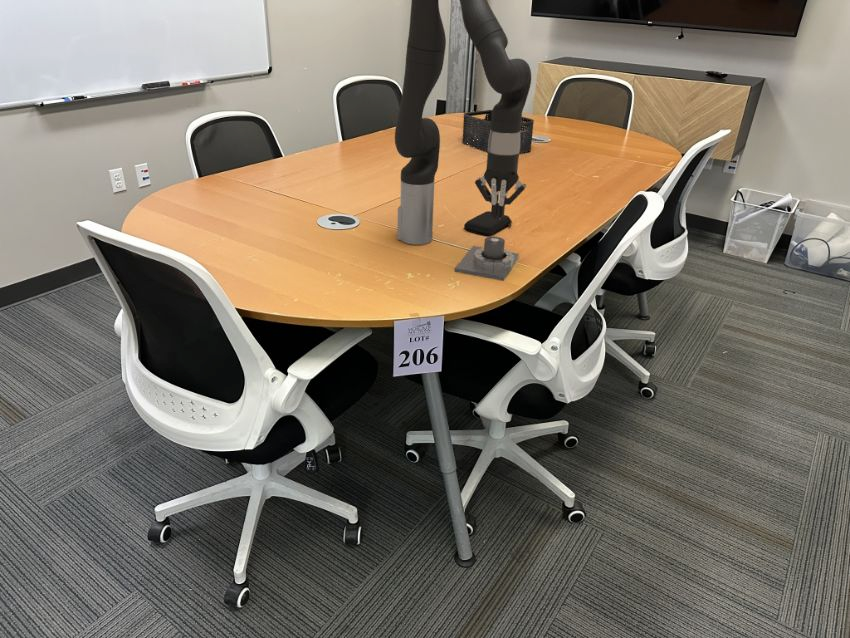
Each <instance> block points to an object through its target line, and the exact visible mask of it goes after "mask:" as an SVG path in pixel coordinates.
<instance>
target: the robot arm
mask: <svg viewBox="0 0 850 638" xmlns="http://www.w3.org/2000/svg"><path fill="white" fill-rule="evenodd" d="M459 3H460V9H461V16H462V21H463V25H464V28H465V30H466V33H467V35H468V36H469V39H470V40H471V42H472V44H473V45H474V48H475V49H476V51H477V52H478V54H479V56H480V60H481V64H482V67H483V71H484V75H485V77H486V80H487V82H488V84H489V85H490V87H491V88H492V89H493V90H494V91H495V92H496V93H498V94H501V95H500V100H499V101H498V102H497V103H496V104H495V105H494V106H493V108H492V109H491V110H492V119H491V130H490V135H489V142H488V152H487V157H486V167H485V168H486V169H485V172H484V173H483V176H481V177H477V179H475V181H474V184H475V186H476V187H477V189H478V191H479V193H480V194H481V196H482V198H483V199H484V201H485V202H489V203H490V204H491V210H490V211H491V216H493V219H498V220H500V219H501V218H502V217H503V216H504V215H505V209H506V205H508V206H509V205H511V204H512V203H513V201H515V200H516V199H517V198H518V197H519V196H520V195H521V194H522V192H523V191H525V189H526V188H527V184H525V183H523V182H521V181H520V180H519V179H520V177H519V174H518V169H519V168H518V167H519V157H520V154H519V151H520V131H521V121H522V117H523V111H524V108H525V105H526V102H527V98H528V96H529V92H530V88H531V85H532V70H531V67H530V64H528V62H527V61H526V60H525V59H522V58H509V57H508V54H507V51H506V48H507V47H508V44H509V42H508V41H509V39H508V37H507V34H506V33H505V31H504V29H503V27H502V25H501V24H500V22H499V20H498V19H497V17H496V14H495V13H494V11H493V10H492V8H491V6H490V4H489V2H488V0H459ZM439 5H440V4H439V0H411V7H410V15H409V17H410V18H409V30H408V37H407V38H408V39H407V45H406V53H405V67H404V76H403V83H402V84H403V86H402V91H401V92H402V93H401V99H400V105H399V108H398V109H399V110H398V114H397V115H398V116H397V119H396V125H395V131H394V144H395V147H396V151H397V153H398V154H399V155H400V156H401V157H403V158H405V159H409V161H408V163H406V165H405V166H404V167H402V168H401V171H400V205H399V206H398V207H397V241H401V242H403V243H405V244H407V245H413V246H415V245H416V246H419V245H420V246H421V245H426V244H428V243H430V242H432V241H433V228H434V227H433V225H434V204H435V203H434V201H435V177H436V174H437V171H438V167H439V158H440V150H441V149H440V147H441V134H440V129H439V127H438V125H437V124H436V122H435V121H434V120H433V119H431V118H429V117H423V113H424V110H425V106H426V102H427V101H428V98H429V96H430V95H431V93H432V91H433V89H434V88H435V86H436V84H437V83H438V81H439V79H440V76H441V74H442V71H443V66H444V61H445V54H446V46H447V45H446V44H447V40H446V39H447V38H446V33H445V28H444V23H443V20H442V16H441V13H440V12H441V11H440V6H439ZM486 184H487V185H488V186H489V188H490V190H491V191H490V190H489V188H488V187H487V185H486ZM514 186H515V187H514ZM513 187H514V192H513V193H512V194H511V195H510V196H509V197H508V194H509V191H510V190H511V189H512V188H513Z"/></svg>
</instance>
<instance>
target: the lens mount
mask: <svg viewBox="0 0 850 638" xmlns="http://www.w3.org/2000/svg"><path fill="white" fill-rule="evenodd" d="M483 254H484V246H477V245H473V246H472V247H471V248H470V249H469V250H468V251H467V252H466V253H465V255H464V256H463V257H462V259H461V260H460V261H459V262H458V263H457V265H456V266H455V267H454V272H456V273H459V274H460V273H461V274H466V275H471V276H476V277H482V278H487V279H491V280H498V281H503V282H504V281H505V280H506V278H507V277H508V276H509V274H510V272H511V270H512V269H513V267H514V266H515V264H516V262H517V260H518V259H519V257H520V253H517V252H511V251H510V250H508V249H506V248H504V255H503V259H501V260H491V259H487V258H485V257H483Z"/></svg>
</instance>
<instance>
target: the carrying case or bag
mask: <svg viewBox="0 0 850 638" xmlns="http://www.w3.org/2000/svg"><path fill="white" fill-rule="evenodd" d="M512 223H513V221H512V219H511V218H510V216H509V215H506V214H504V216H503V217H502V218H501V219H500V220H498V219H493V216H491V210H490V211H489V210H487V211H484V212H482V213H481V214H479V215H476V216H475V217H473V218H471V219H469V220H467V221H466V223H464V224H463V226H464V227H463V228H464V229H465V230H466V231H467V232H472V233H474V234H477V235H482V236H486V237H490V236H493V235H494V234H495V233H497V232H498V231H500V230H502V229H504V228H506V227H507V226H508V227H510V226H511V225H512Z"/></svg>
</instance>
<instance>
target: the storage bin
mask: <svg viewBox="0 0 850 638" xmlns="http://www.w3.org/2000/svg"><path fill="white" fill-rule="evenodd" d="M492 110H493V109H487V110H479V111H472V112H471V111H470V112H464V113H463V122H462V123H463V125H462V127H463V128H462V144H463V143H464V144H463V145H465V144H467V143H468V144H467V145H466V146H468V145H470V146H469V147H471V146H472V147H471V148H473V147H475V148H474V149H476V148H478V149H477V150H479V149H480V150H479V151H482V150H483V151H482V152H485V151H486V152H485V153H488V142H489V135H490V130H491V119H492ZM481 115H485V117H484V118H479V117H475V116H481ZM534 122H535V120H534V119H532V118H529V117H525V116H522V121H521V130H520V151H519V153H520V154H524V153H523V152H526V153H529V152H531V151H532V143H533V133H534V131H533V130H534ZM477 139H478V140H477ZM473 140H474V141H473ZM528 151H529V152H528Z"/></svg>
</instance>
